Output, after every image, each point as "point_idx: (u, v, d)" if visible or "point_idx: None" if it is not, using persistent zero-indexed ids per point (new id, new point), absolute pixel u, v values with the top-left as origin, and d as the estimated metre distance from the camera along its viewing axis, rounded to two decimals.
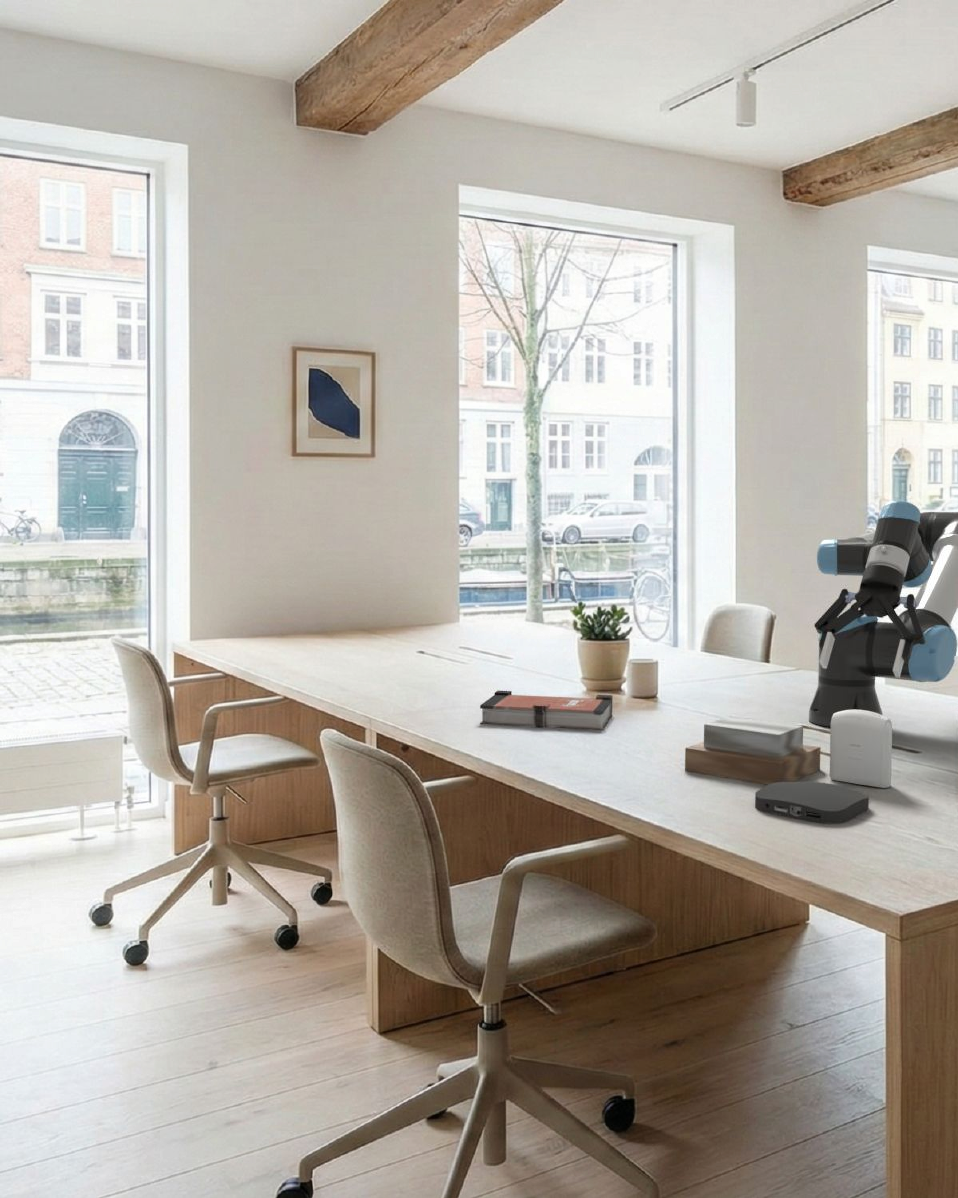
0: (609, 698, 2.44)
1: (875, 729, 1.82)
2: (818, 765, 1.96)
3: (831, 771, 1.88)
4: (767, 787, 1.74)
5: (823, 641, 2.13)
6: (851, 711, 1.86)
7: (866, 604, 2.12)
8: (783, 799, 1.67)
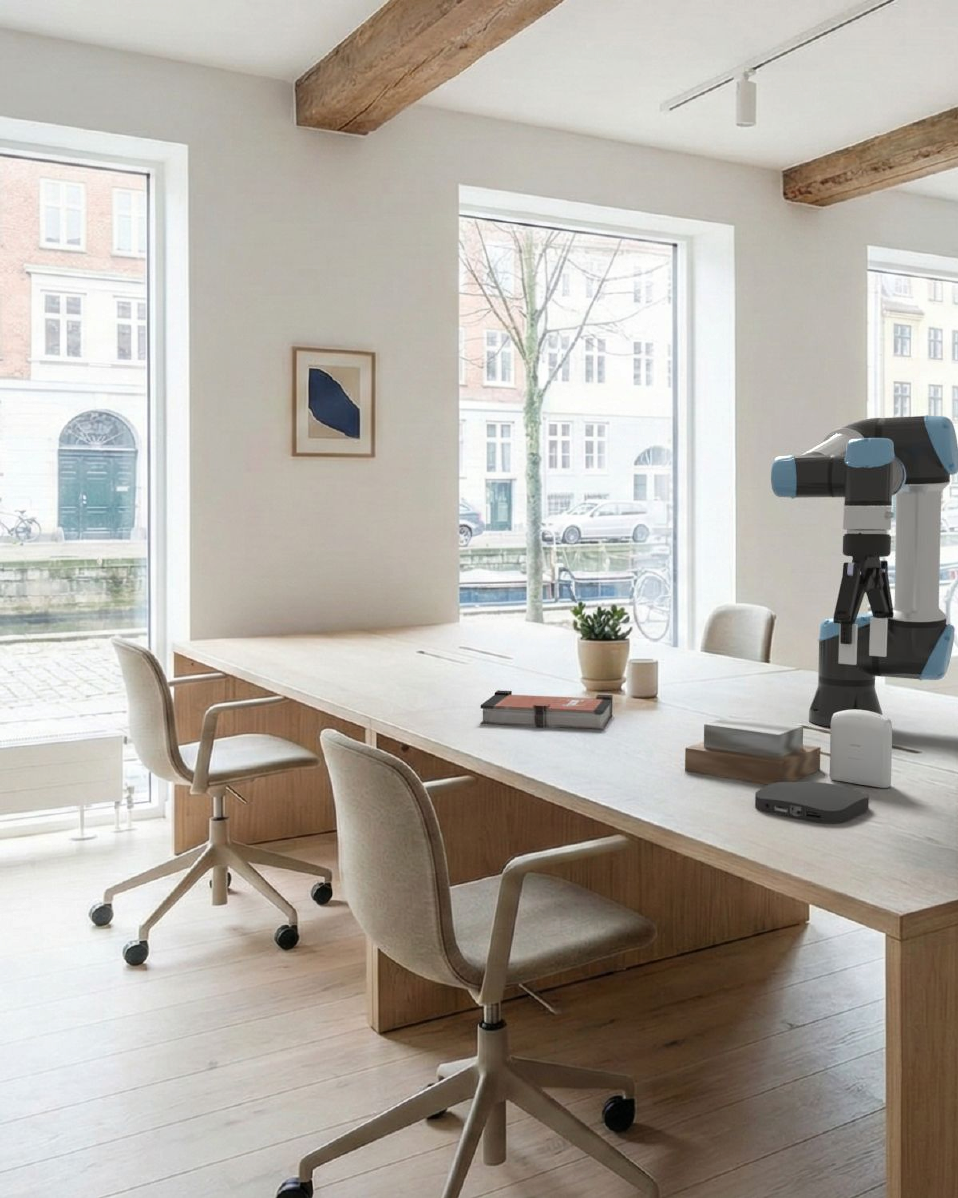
0: (609, 698, 2.44)
1: (875, 729, 1.82)
2: (818, 765, 1.96)
3: (831, 771, 1.88)
4: (767, 787, 1.74)
5: (850, 636, 1.78)
6: (851, 711, 1.86)
7: None
8: (783, 799, 1.67)
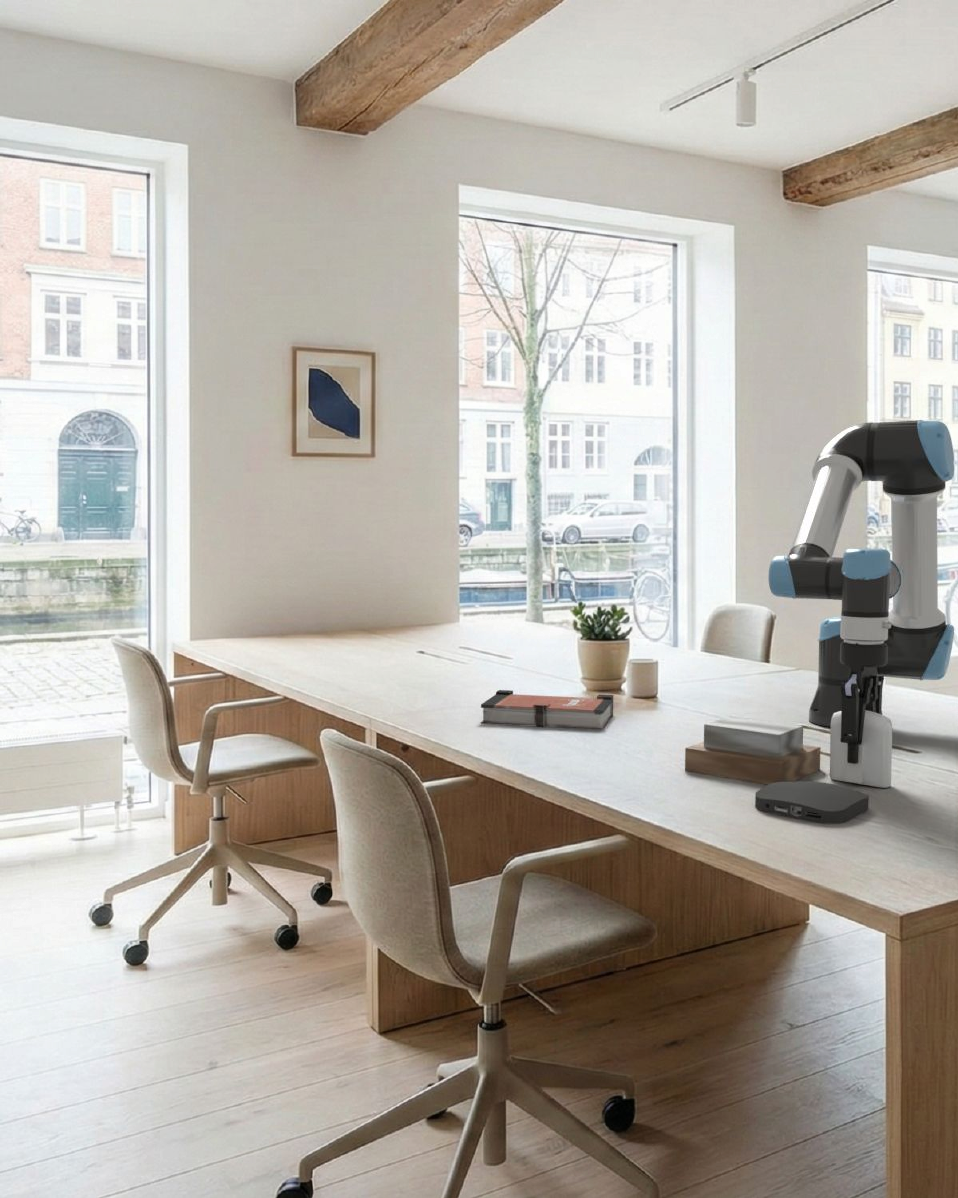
0: (610, 698, 2.44)
1: (875, 728, 1.82)
2: (818, 765, 1.96)
3: (831, 771, 1.88)
4: (767, 787, 1.74)
5: (857, 755, 1.83)
6: None
7: None
8: (783, 799, 1.67)
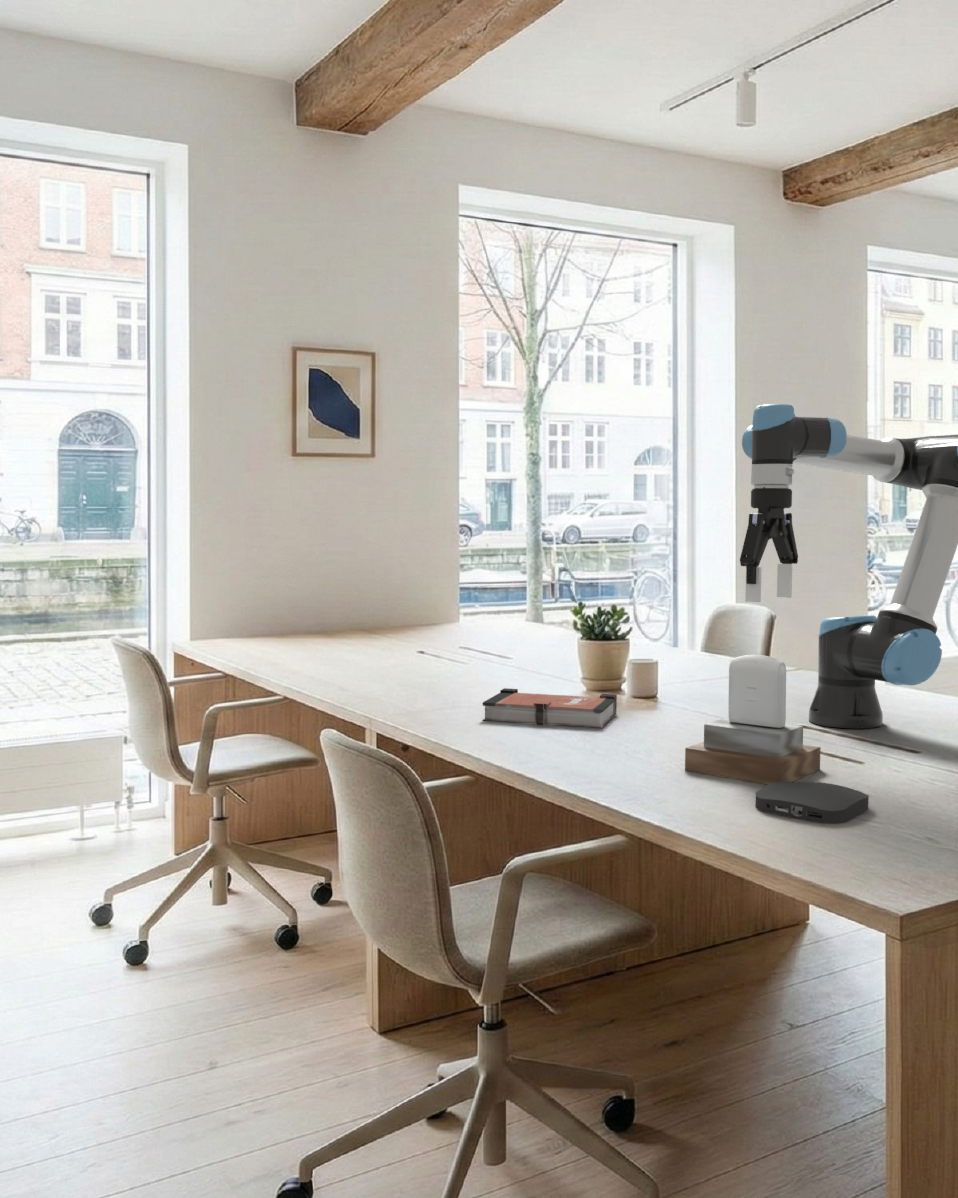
0: (612, 697, 2.45)
1: (770, 671, 1.91)
2: (818, 765, 1.96)
3: (730, 714, 1.97)
4: (767, 787, 1.74)
5: (755, 577, 2.04)
6: (748, 656, 1.95)
7: None
8: (784, 799, 1.67)
